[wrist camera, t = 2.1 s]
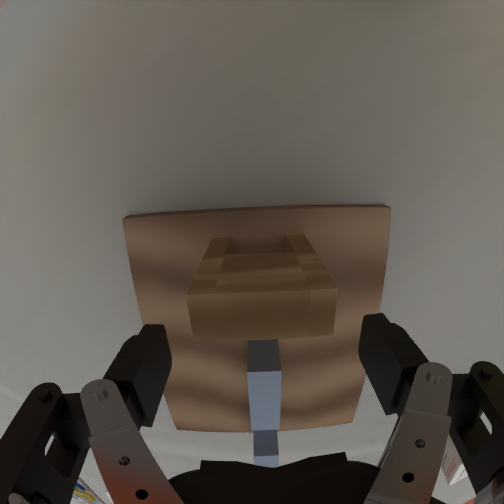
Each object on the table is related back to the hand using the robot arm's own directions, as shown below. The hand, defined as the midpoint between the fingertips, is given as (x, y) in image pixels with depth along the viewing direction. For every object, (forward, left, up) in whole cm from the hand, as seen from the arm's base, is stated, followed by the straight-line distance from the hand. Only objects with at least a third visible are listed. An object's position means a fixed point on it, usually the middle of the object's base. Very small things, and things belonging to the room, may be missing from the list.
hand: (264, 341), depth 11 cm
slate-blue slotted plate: (+13, 0, -10) cm, 16 cm away
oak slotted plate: (0, 0, -10) cm, 10 cm away
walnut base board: (+9, 0, -11) cm, 14 cm away
